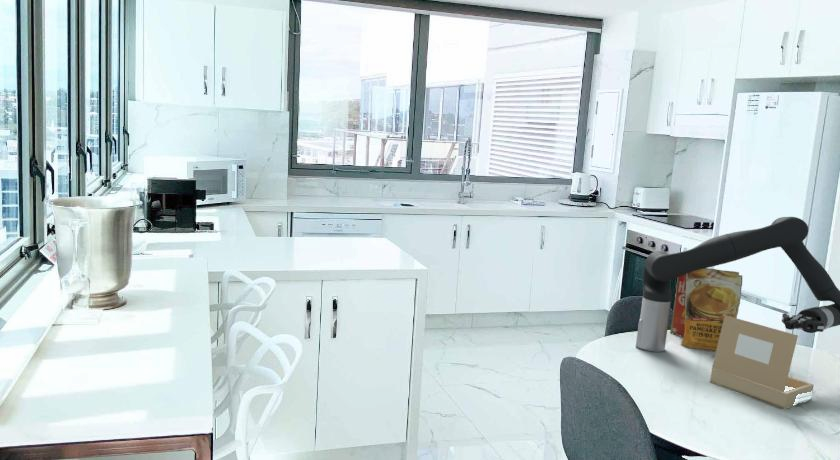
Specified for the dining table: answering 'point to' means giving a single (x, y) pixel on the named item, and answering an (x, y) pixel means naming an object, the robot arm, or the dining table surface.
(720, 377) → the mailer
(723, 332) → the lid
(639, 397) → the dining table surface
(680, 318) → the food packaging
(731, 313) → the pancake mix bag
